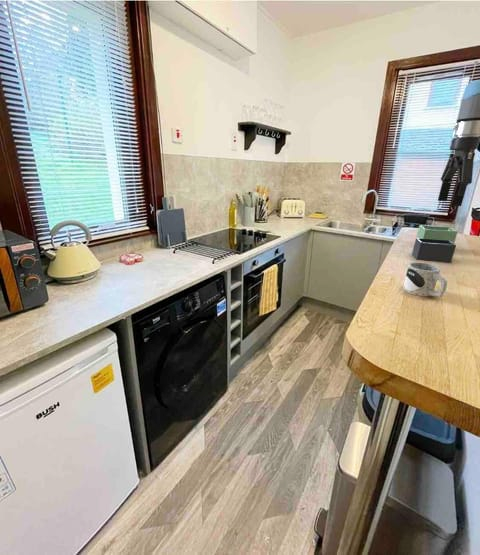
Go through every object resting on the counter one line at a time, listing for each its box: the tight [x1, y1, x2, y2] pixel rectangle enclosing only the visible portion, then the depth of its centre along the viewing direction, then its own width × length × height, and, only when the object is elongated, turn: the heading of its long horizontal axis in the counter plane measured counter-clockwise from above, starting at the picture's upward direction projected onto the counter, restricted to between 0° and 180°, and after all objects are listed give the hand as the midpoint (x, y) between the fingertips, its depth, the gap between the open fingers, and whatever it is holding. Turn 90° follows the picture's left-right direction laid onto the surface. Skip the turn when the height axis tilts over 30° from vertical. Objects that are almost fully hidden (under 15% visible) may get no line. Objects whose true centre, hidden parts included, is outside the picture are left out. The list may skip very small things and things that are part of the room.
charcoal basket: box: [411, 238, 457, 264], centre depth 93 cm, size 10×6×6 cm, turn 72°
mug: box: [402, 261, 448, 298], centre depth 68 cm, size 10×7×7 cm, turn 14°
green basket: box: [415, 224, 458, 244], centre depth 103 cm, size 10×8×8 cm
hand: (448, 203), depth 98 cm, fingers open, 13 cm apart
